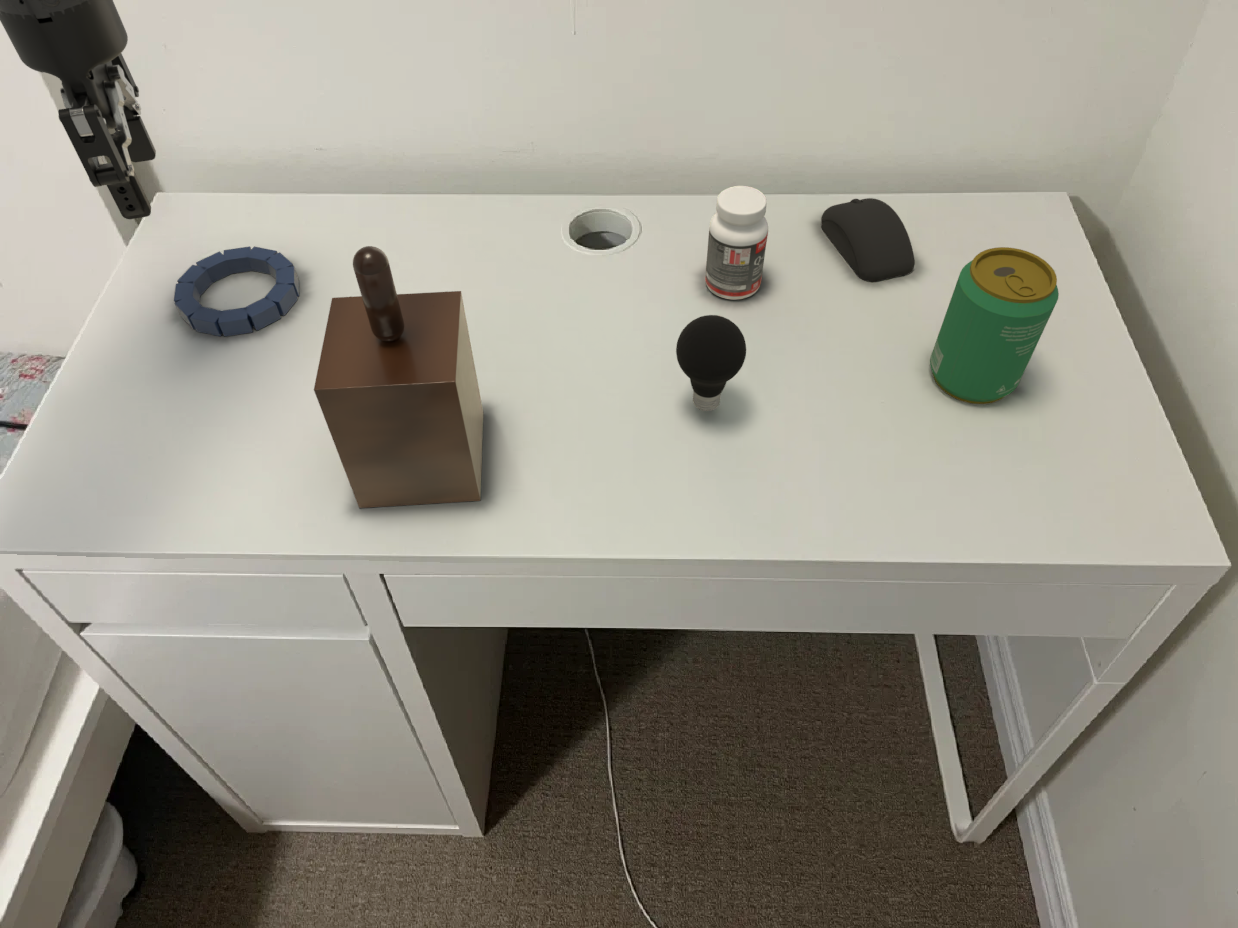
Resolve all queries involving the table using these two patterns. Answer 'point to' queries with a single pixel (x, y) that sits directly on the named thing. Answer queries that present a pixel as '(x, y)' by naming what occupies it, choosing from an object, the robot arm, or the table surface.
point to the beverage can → (993, 324)
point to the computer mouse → (870, 238)
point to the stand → (401, 392)
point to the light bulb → (710, 357)
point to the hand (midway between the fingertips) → (141, 186)
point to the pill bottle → (737, 243)
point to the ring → (239, 318)
